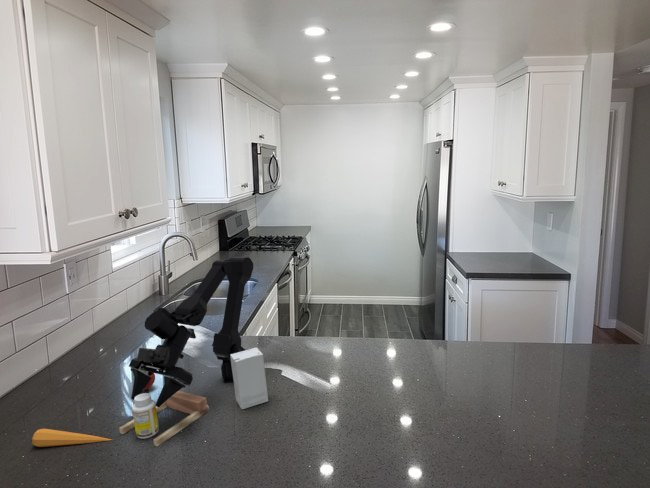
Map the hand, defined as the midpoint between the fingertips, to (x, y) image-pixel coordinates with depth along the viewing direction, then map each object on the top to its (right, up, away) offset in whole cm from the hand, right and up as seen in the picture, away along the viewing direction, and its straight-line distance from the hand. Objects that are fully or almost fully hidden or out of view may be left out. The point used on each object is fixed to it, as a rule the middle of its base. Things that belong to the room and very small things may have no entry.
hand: (144, 403), depth 117 cm
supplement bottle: (0, -8, +1) cm, 8 cm away
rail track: (+3, -7, +6) cm, 10 cm away
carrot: (-17, -10, -1) cm, 20 cm away
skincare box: (+25, -5, +13) cm, 29 cm away
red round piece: (-9, -5, +25) cm, 28 cm away
